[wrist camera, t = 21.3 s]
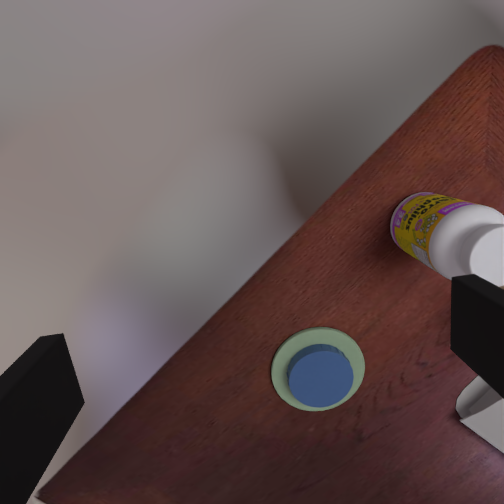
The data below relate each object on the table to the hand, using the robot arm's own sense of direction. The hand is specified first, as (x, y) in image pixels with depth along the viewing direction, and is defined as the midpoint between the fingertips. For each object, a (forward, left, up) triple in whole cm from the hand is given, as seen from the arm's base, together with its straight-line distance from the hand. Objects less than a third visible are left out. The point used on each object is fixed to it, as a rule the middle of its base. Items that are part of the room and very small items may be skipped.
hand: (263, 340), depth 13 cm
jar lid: (+20, +6, -25) cm, 32 cm away
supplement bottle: (+4, +18, -27) cm, 33 cm away
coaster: (+20, +6, -27) cm, 34 cm away
